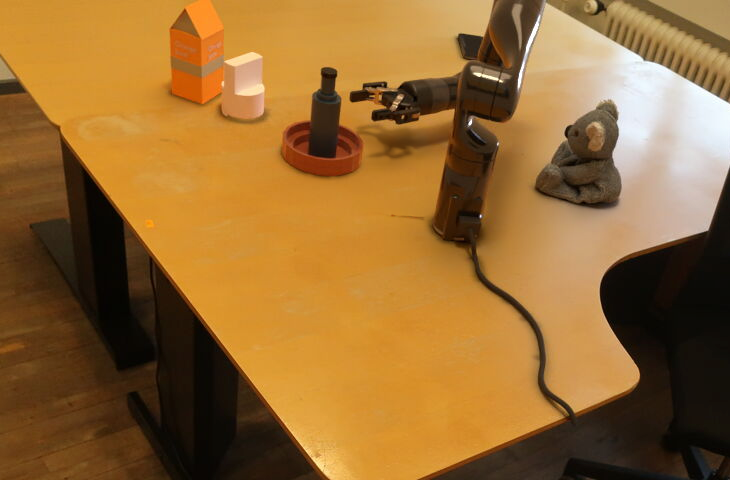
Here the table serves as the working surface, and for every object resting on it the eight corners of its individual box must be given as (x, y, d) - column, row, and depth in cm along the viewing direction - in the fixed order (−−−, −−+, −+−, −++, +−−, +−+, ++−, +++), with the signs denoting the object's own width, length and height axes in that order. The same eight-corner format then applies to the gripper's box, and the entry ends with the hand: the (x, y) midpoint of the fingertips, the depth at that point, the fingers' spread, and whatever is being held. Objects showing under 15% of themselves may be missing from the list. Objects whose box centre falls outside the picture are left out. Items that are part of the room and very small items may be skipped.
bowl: (362, 183, 171) (364, 163, 168) (280, 175, 167) (281, 155, 164) (358, 143, 183) (361, 124, 180) (282, 135, 179) (283, 116, 176)
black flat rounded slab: (484, 36, 240) (491, 58, 230) (483, 40, 241) (491, 62, 230) (457, 32, 239) (464, 54, 228) (456, 36, 239) (463, 58, 229)
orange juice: (171, 93, 184) (167, 1, 170) (194, 80, 190) (192, -10, 177) (202, 104, 182) (201, 13, 169) (224, 90, 189) (224, 1, 176)
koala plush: (553, 160, 194) (576, 80, 181) (625, 187, 191) (654, 107, 178) (530, 191, 181) (553, 108, 168) (607, 220, 178) (637, 137, 165)
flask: (336, 163, 173) (344, 78, 161) (307, 160, 172) (314, 75, 160) (335, 149, 177) (343, 66, 165) (307, 147, 176) (314, 62, 164)
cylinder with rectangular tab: (241, 98, 188) (242, 46, 180) (272, 113, 185) (274, 61, 177) (212, 109, 182) (212, 56, 174) (244, 125, 179) (245, 72, 171)
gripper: (408, 66, 183) (344, 74, 174) (446, 95, 176) (382, 105, 167) (403, 98, 188) (341, 107, 179) (440, 128, 180) (377, 139, 172)
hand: (361, 106), depth 173 cm, fingers open, 8 cm apart
